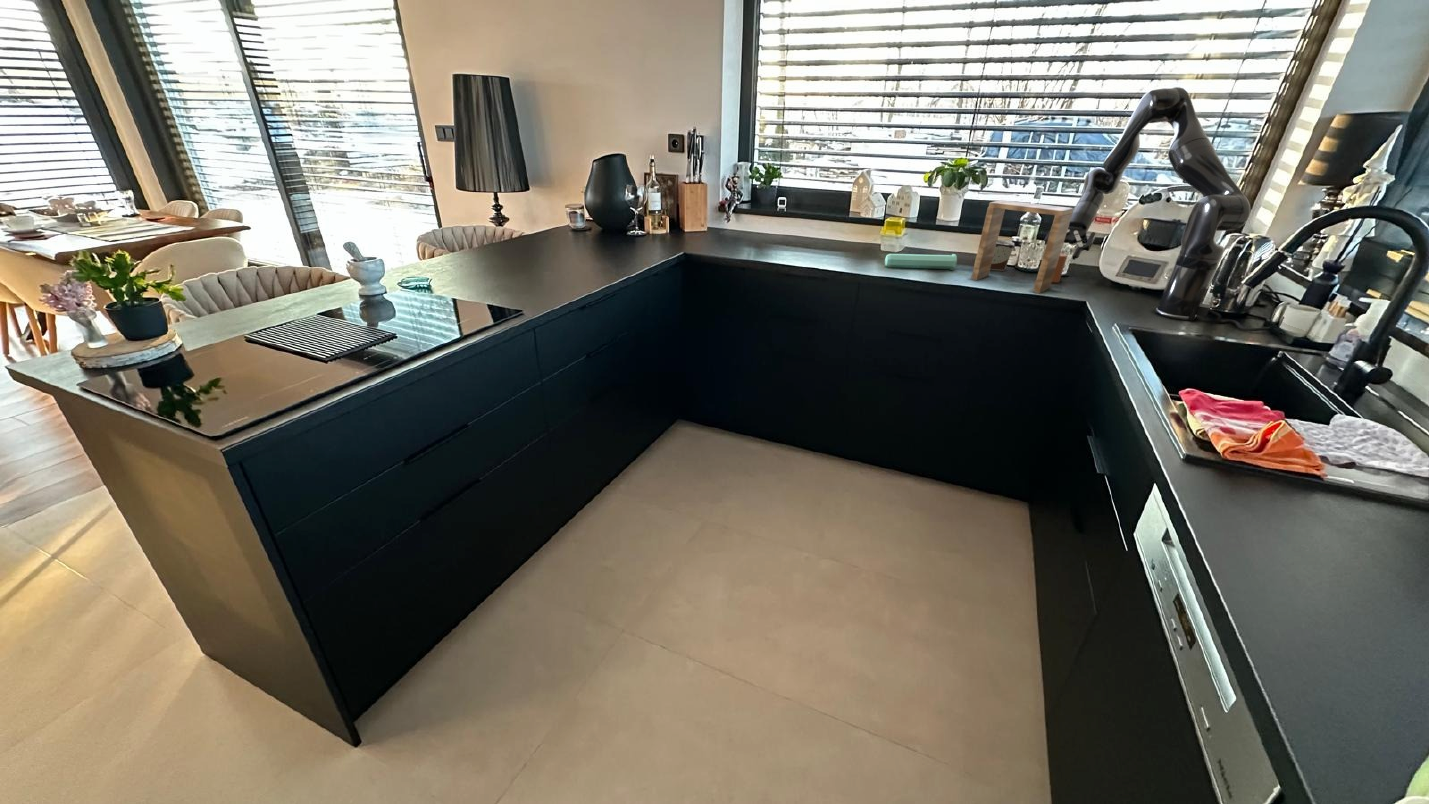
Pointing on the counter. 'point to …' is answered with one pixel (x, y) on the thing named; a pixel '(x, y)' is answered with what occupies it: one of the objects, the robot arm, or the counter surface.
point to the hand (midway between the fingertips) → (1060, 255)
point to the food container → (1002, 255)
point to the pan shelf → (1052, 247)
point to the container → (921, 261)
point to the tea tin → (1059, 268)
